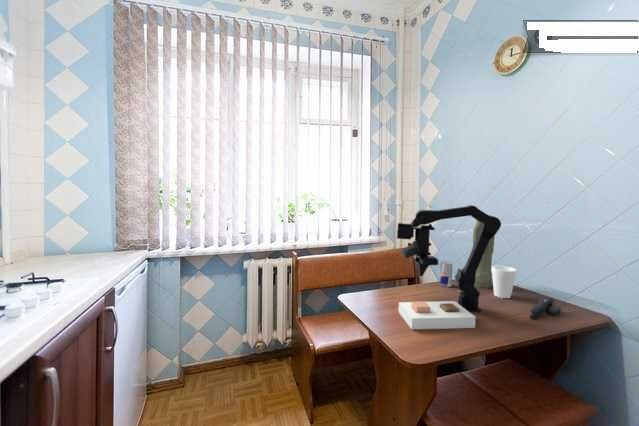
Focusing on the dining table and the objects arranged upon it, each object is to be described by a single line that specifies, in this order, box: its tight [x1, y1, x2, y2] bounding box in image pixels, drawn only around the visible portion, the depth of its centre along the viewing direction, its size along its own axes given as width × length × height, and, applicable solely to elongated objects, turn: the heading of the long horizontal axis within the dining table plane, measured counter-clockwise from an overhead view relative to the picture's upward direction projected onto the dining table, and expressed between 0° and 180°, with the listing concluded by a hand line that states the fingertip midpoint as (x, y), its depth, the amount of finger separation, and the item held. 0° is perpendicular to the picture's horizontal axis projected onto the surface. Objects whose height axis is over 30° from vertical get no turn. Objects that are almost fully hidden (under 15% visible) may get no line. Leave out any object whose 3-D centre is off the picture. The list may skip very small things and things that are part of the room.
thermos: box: [472, 220, 496, 289], centre depth 143 cm, size 9×12×35 cm
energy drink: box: [439, 260, 453, 288], centre depth 144 cm, size 5×5×12 cm
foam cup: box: [491, 265, 517, 300], centre depth 130 cm, size 10×9×13 cm
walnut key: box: [440, 304, 459, 312], centre depth 108 cm, size 5×5×4 cm
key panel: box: [398, 300, 477, 330], centre depth 108 cm, size 23×14×4 cm, turn 93°
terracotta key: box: [411, 300, 430, 313], centre depth 107 cm, size 5×5×4 cm
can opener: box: [529, 297, 562, 321], centre depth 112 cm, size 18×7×6 cm, turn 120°
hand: (420, 276), depth 122 cm, fingers closed
